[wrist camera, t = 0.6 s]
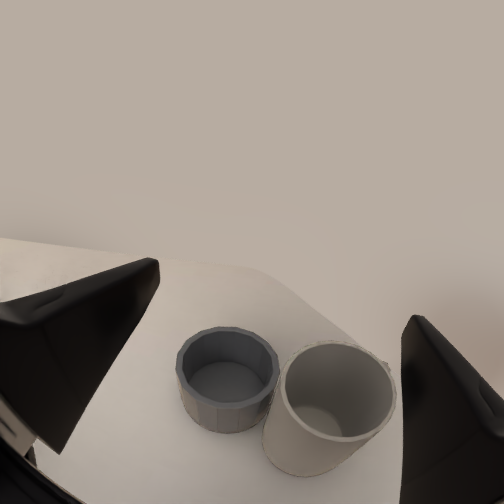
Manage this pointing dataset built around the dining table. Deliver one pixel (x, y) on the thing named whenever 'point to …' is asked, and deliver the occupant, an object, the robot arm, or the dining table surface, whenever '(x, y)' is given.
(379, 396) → the cup
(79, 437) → the dining table surface
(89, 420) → the dining table surface
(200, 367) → the pen tin
